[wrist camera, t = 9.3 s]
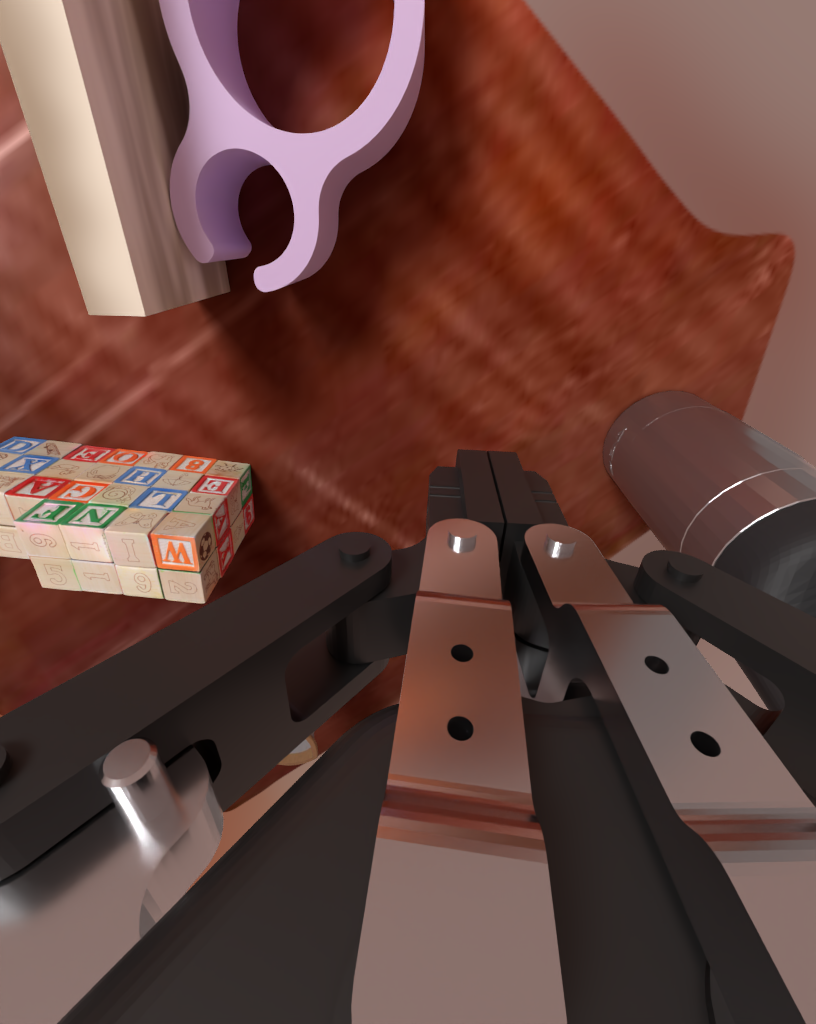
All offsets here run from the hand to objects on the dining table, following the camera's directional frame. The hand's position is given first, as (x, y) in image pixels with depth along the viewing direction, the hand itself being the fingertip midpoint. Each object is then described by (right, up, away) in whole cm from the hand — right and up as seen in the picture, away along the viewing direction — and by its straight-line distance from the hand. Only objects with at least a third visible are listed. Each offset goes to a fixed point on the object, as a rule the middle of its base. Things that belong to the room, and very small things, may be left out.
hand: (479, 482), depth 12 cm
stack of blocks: (-27, +2, +31) cm, 41 cm away
